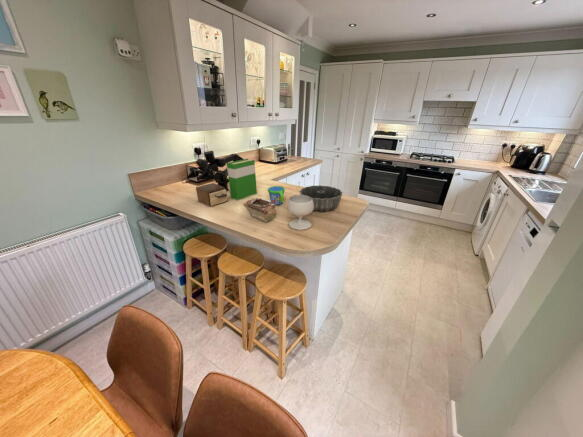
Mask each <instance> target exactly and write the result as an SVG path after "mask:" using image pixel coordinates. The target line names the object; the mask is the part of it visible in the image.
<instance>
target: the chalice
mask: <svg viewBox="0 0 583 437" xmlns="http://www.w3.org/2000/svg"><path fill="white" fill-rule="evenodd" d="M286 209H287V212H288V213H289V214H291V215H293V216H296V217H297V218H296V219H292V220H290V221H289V222H288V226H289V227H290V228H292V229H293V230H300V231H301V230H307V229H309V228H311V227H312V223H311V221H310V220H308V219H304V218H303V217H305V216H308V215H310V214H312V213H313V212H314V210H313V209H314V203H313V200H312V198H311V197H309V196H306V195H300V194H295V195H292V196H290V197H289V198H288V200H287V203H286Z"/></svg>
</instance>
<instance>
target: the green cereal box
mask: <svg viewBox="0 0 583 437" xmlns="http://www.w3.org/2000/svg"><path fill="white" fill-rule="evenodd" d="M255 161H256V160H255V159H252V160H249V158H243V160H239V161H234V162H233V161H231V162H228V163H226V168H227V170H228V176H227V178H228V179H229V183H228V185H229V186H228V187H229V194H230V199H234V200H235V201H236V200H237V201H239V200H243V199H244V198H247V197H250V196H253V195H256V194H257V193H258V190H257V176H256V162H255Z"/></svg>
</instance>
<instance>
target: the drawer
mask: <svg viewBox="0 0 583 437" xmlns="http://www.w3.org/2000/svg"><path fill="white" fill-rule="evenodd" d="M227 196H228V194H227V191H226V190H225V189H224V190H223V189H222V190H218V191H215V192H211V193H209V198H210V204H211V206H210V207H213V206H216V205H219V204H222V202H223V203H225V201H226V202H227V201H228V197H227Z"/></svg>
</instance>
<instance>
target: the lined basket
mask: <svg viewBox="0 0 583 437" xmlns="http://www.w3.org/2000/svg"><path fill="white" fill-rule="evenodd" d="M276 206H277V205H275V204H272V203H271V201H270V199H267V198H262V197H261V198H259V197H256V198H252V199H248V200H246V201H245V202H243V207H244V208H245V209H246V210H247V212H249V213H250V215H251V216H252V217H254V218H256V219H258V220H261V221H263V222H265V223H268V222H270V221H272V220H273V219H275V218H276V217H277V210H276Z"/></svg>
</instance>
